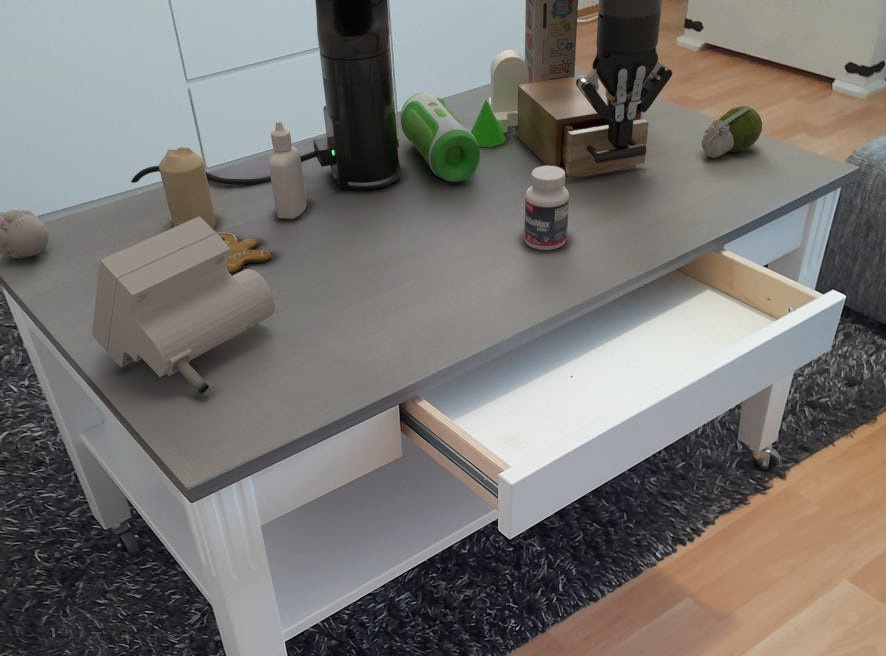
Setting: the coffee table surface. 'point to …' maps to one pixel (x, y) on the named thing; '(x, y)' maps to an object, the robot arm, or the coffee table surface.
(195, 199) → the candle
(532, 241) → the pill bottle
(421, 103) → the speaker
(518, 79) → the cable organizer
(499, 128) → the gemstone
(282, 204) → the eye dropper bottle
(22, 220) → the beige rounded lump
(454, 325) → the coffee table surface
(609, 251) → the coffee table surface
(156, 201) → the coffee table surface
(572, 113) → the wooden mini dresser
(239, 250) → the cookie
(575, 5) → the juice carton
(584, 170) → the dresser drawer
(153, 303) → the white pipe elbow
